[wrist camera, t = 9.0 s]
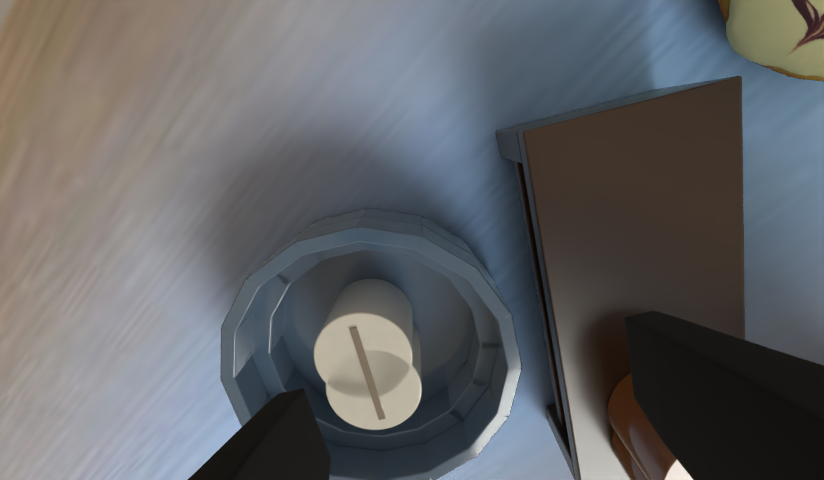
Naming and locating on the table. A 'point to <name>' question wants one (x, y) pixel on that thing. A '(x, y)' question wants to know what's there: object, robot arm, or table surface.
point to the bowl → (432, 316)
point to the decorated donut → (778, 34)
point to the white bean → (370, 355)
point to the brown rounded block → (639, 439)
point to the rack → (628, 239)
